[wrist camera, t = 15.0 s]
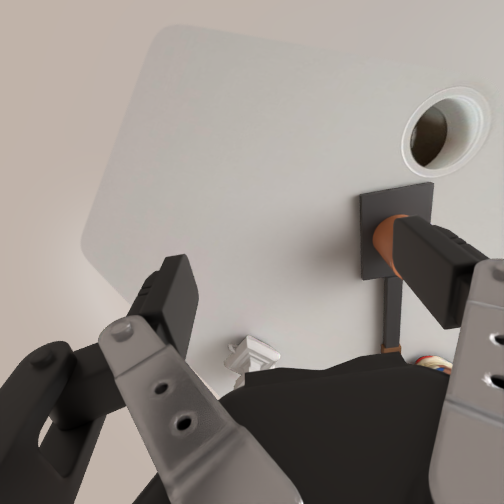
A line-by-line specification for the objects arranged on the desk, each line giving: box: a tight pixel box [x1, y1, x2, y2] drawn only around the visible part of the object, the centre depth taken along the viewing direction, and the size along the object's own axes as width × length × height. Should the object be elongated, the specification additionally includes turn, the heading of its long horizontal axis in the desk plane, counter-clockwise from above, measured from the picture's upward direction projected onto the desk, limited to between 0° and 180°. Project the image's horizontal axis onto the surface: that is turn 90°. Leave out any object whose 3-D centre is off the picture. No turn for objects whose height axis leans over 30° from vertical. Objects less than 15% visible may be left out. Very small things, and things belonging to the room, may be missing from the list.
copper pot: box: [373, 215, 408, 279], centre depth 39 cm, size 6×6×7 cm
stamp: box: [224, 335, 280, 390], centre depth 48 cm, size 9×7×8 cm
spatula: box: [360, 182, 434, 354], centre depth 46 cm, size 30×9×1 cm, turn 10°
